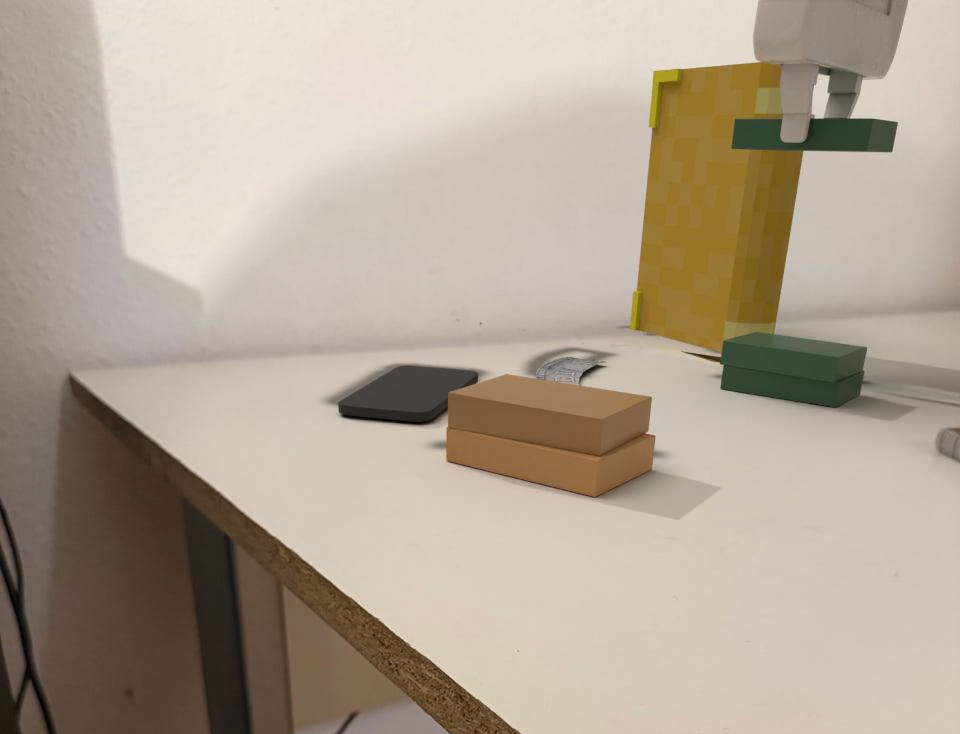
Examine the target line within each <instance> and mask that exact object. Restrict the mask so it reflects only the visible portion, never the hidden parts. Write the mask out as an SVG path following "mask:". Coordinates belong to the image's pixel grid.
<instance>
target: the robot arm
mask: <svg viewBox="0 0 960 734" xmlns="http://www.w3.org/2000/svg"><path fill="white" fill-rule="evenodd" d="M908 4H909V0H758V1H757V7H756V12H755V19H754V25H753V32H752V45H753V46H752V48H753V55H754V58H755V60H756V62H765V63H769V64H774V65H778V66H782V72H781V79H780V93H781V102H782V112H783V120H782V127H781V134H780V137H781V140H782V141H783V142H787V143H806V142H808V141H809V140H810V138H811V135H812V128H813V123H814V118H816V114H812V113H813V99H814V98H813V96H814V89H813V85H814V86H816V85H817V82H818V76H819V75H821V76H826V77H828V78H829V79H828V85H827V94H828V98H827V101H826V105H825V110H824V114H823V117H822V118H852V115H853V112H854V110H855V108H856V105H857V102H858V100H859V97H860V95H861V91H862V85H863V81H869V80H872V81H873V80H882V79H884V78H885V77H886V76H887V74H888V73H889V70H890V68H891V66H892V64H893V62H894V59H895V56H896V52H897V49H898V46H899V42H900V37H901V34H902V33H901V32H902V29H903V26H904V21H905V17H906V14H907V13H906V12H907V9H908Z"/></svg>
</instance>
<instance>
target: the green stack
mask: <svg viewBox="0 0 960 734" xmlns="http://www.w3.org/2000/svg"><path fill="white" fill-rule="evenodd" d="M867 353H868V346H862V345H855V344H847V343H842V342H841V343H840V342H833V341H827V340H826V341H825V340H819V339H812V338H804V337H796V336H789V335H783V334H776V333H774V334H768V333H761V332H754V333H750V334H746V335H742V336H738V337H735V338H731V339H727V340H723V346H722V353H721V352H720V354H721V355H720V357H721V361H720V362H719V364H720V365H722V373H721V380H720V390H724V391H725V390H726V391H731V392H737V393H738V392H739V393H743V394H749V395H755V396H762V397H768V398H774V399H779V400H780V399H781V400H787V401H793V402H799V403H805V404H810V403H812V404H811V405H816V404H818V405H817V406H823V405H824V407H829V406H830V408H838V407H839V406H841V405H843V404H845V403H847V402H848V401H849V402H850V401H851V400H852V399H854V398H856V397H858V396H860V395H861V390H862V387H863V382H864V376H865V370H864V368H865V367H864V366H865V363H866V357H867Z"/></svg>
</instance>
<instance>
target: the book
mask: <svg viewBox="0 0 960 734" xmlns="http://www.w3.org/2000/svg"><path fill="white" fill-rule="evenodd" d="M781 72H782V66H778V65H774V64H769V63H765V62H760V61H756V62H748V63H747V62H746V63H736V64H735V63H734V64H725V65H723V64H722V65H711V66H702V67H690V68H671V69H660V70H659V69H658V70H653V74H652V86H651V97H650V107H649V119H648V128H651V136H650V137H651V138H650V146H649V147H650V148H649V159H648V167H647V179H646V189H645V201H644V211H643V222H642V230H641V231H642V232H641V243H640V251H639V261H638V263H639V264H638V275H637V283H636V284H637V285H636V290H633V291H632V299H631V301H632V302H631V310H630V321H629V330H633V331H641V332H645V333H647V334H651V335H655V336H659V337H663V338H665V339H666V338H667V339H670V340H675V341H678V342H682V343H685V344H688V345H692V346H696V347H699V348H703V349H707V350H711V351H714V352H718V353H720V354H721V353H722V346H723V340H727V339H731V338H735V337H738V336H742V335H746V334H750V333H754V332H761V333H768V334H775V331H776V324H777V320H778V319H777V318H778V312H779V307H780V300H781V295H782V288H783V281H784V275H785V270H786V269H785V268H786V262H787V257H788V251H789V244H790V237H791V232H792V226H793V218H794V212H795V206H796V200H797V194H798V188H799V183H800V182H799V181H800V176H801V169H802V162H803V157H804V151H776V150H744V149H732V148H731V147H732V139H733V131H734V123H735V119H752V118H783V112H782V102H781V93H780V79H781ZM814 88H815V85H813V90H815V89H814ZM680 352H681V353H685V354H689V355H692V356H696V357H699V358H702V359H705V360H706V359H707V360H710V361H713V362H717V363H720V361H721V356H716V355H709V354H703V353H695V352H689V351H682V350H680Z"/></svg>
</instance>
